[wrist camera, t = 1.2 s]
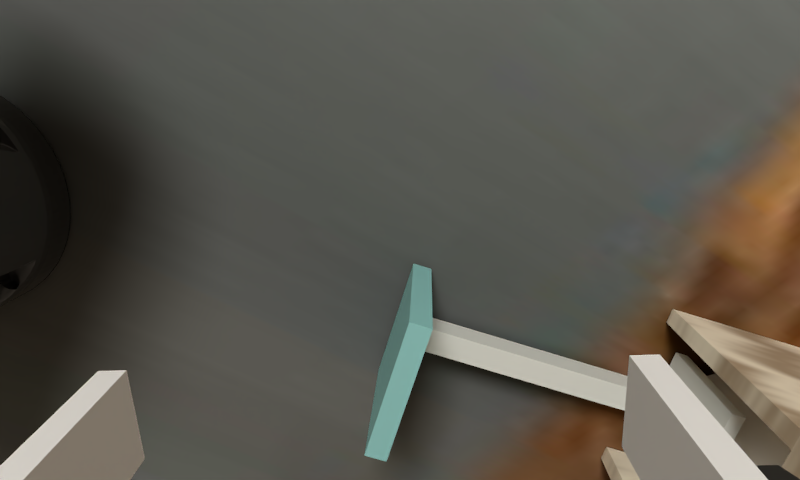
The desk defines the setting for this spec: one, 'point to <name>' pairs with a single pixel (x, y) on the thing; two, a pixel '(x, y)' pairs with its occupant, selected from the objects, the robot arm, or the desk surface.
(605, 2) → the desk surface
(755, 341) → the tunnel
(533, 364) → the slider
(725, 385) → the can
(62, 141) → the desk surface
